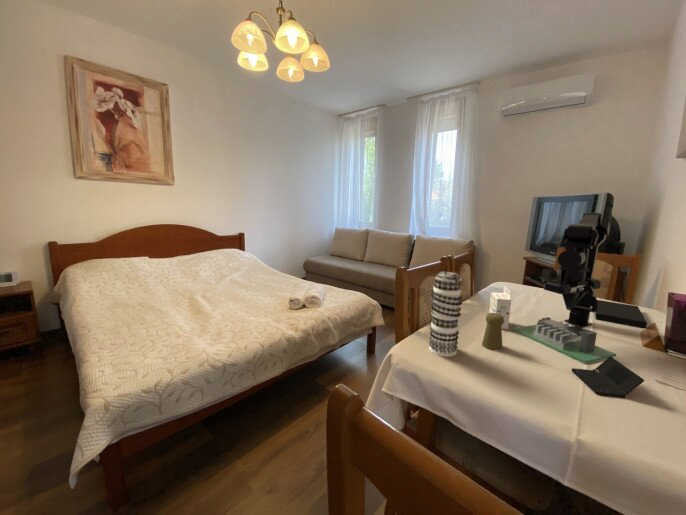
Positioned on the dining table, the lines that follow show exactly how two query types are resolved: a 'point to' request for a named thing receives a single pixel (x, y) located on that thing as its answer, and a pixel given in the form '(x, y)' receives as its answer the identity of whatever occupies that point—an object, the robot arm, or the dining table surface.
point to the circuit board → (571, 352)
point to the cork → (493, 332)
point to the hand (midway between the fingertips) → (568, 309)
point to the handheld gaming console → (609, 379)
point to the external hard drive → (620, 314)
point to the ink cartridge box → (501, 305)
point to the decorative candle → (445, 314)
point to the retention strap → (562, 326)
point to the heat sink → (565, 337)
